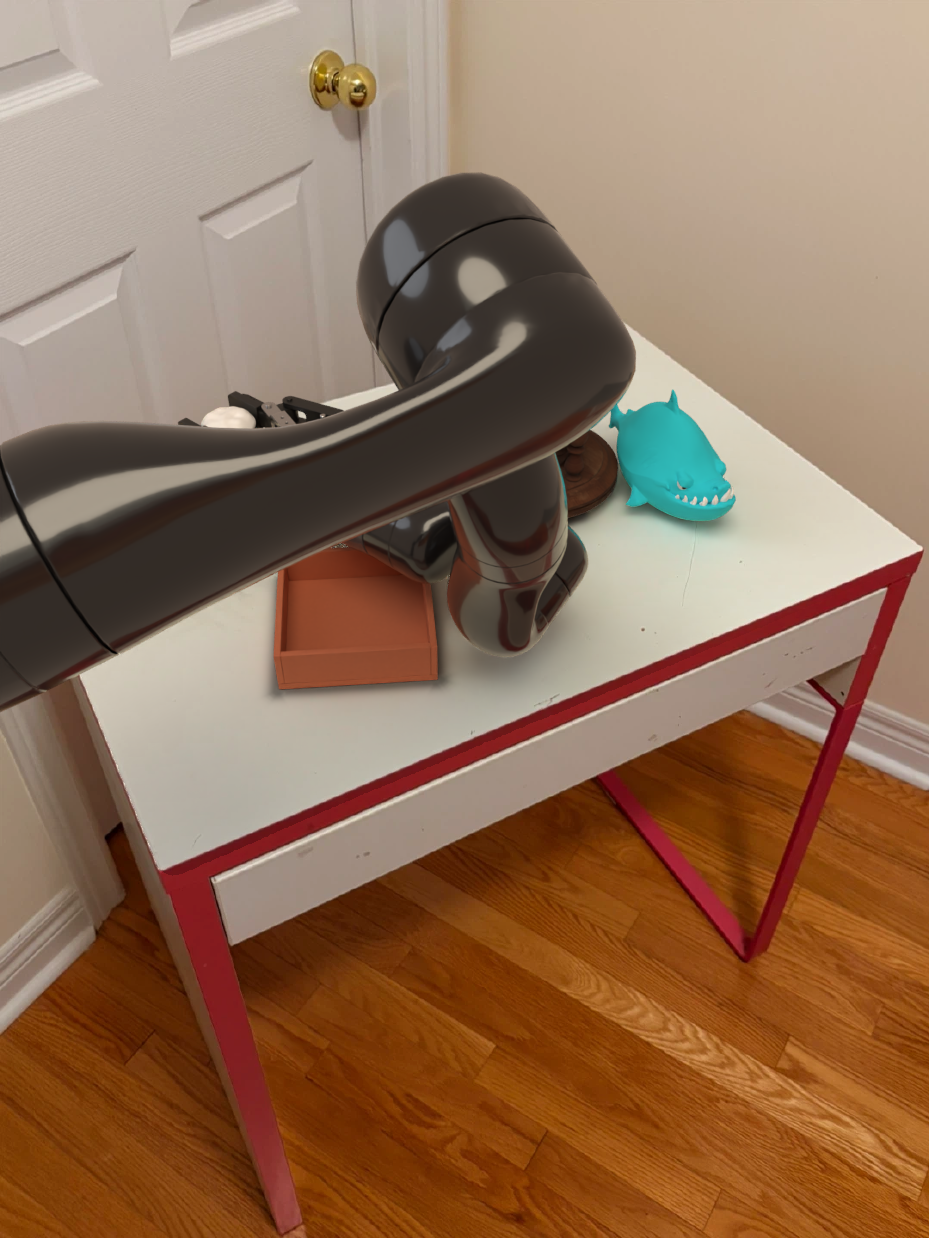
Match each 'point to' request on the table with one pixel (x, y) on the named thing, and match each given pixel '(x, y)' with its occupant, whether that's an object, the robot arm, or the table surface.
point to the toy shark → (670, 462)
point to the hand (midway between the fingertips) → (208, 415)
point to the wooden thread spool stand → (587, 472)
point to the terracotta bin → (352, 623)
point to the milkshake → (229, 418)
